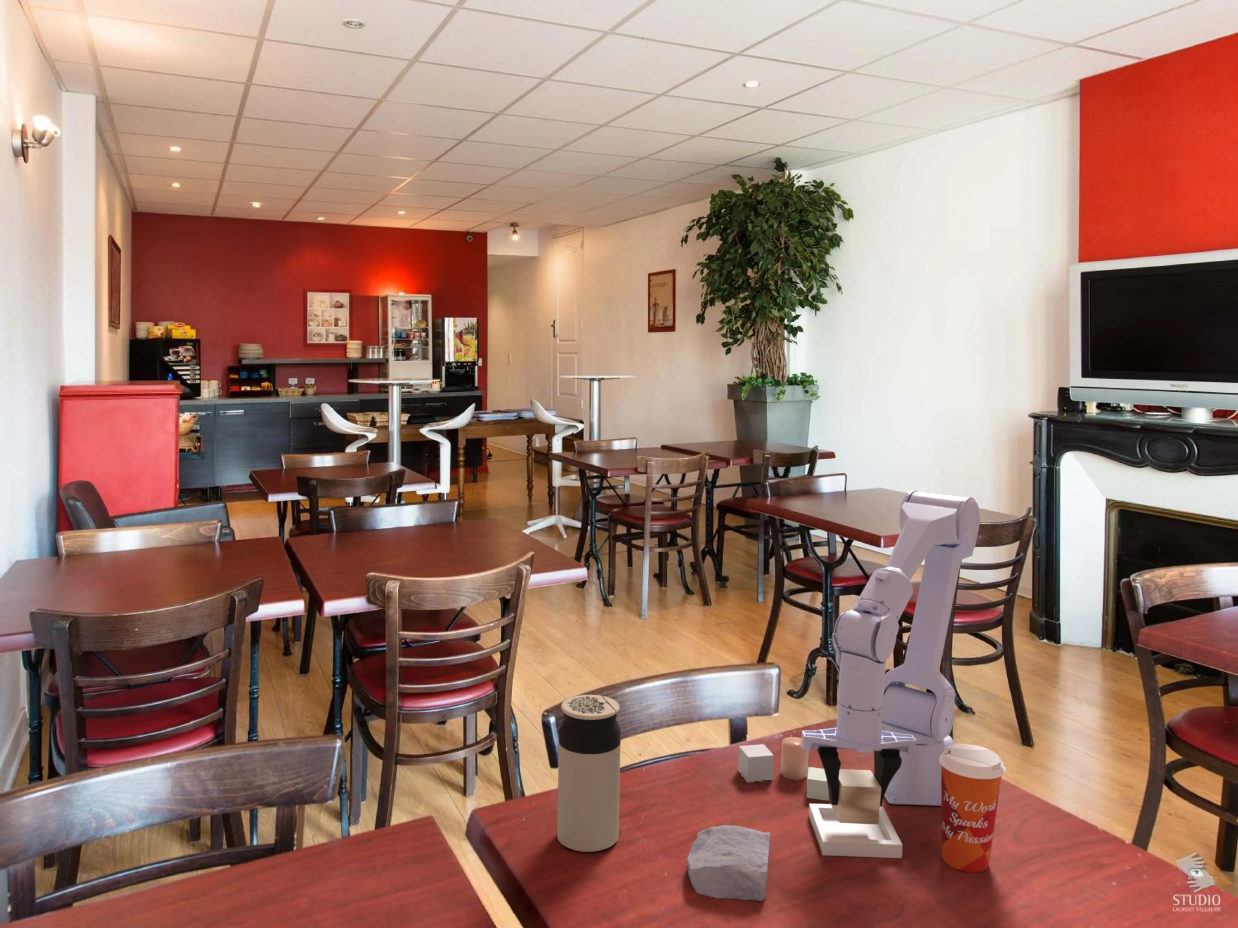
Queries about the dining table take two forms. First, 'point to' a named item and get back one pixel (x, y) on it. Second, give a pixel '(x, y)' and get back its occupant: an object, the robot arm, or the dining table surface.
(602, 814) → the travel mug
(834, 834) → the white square tray
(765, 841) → the stone block
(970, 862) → the paper cup
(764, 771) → the grey block
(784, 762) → the terracotta cylinder
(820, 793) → the sage block
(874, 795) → the beech cube
